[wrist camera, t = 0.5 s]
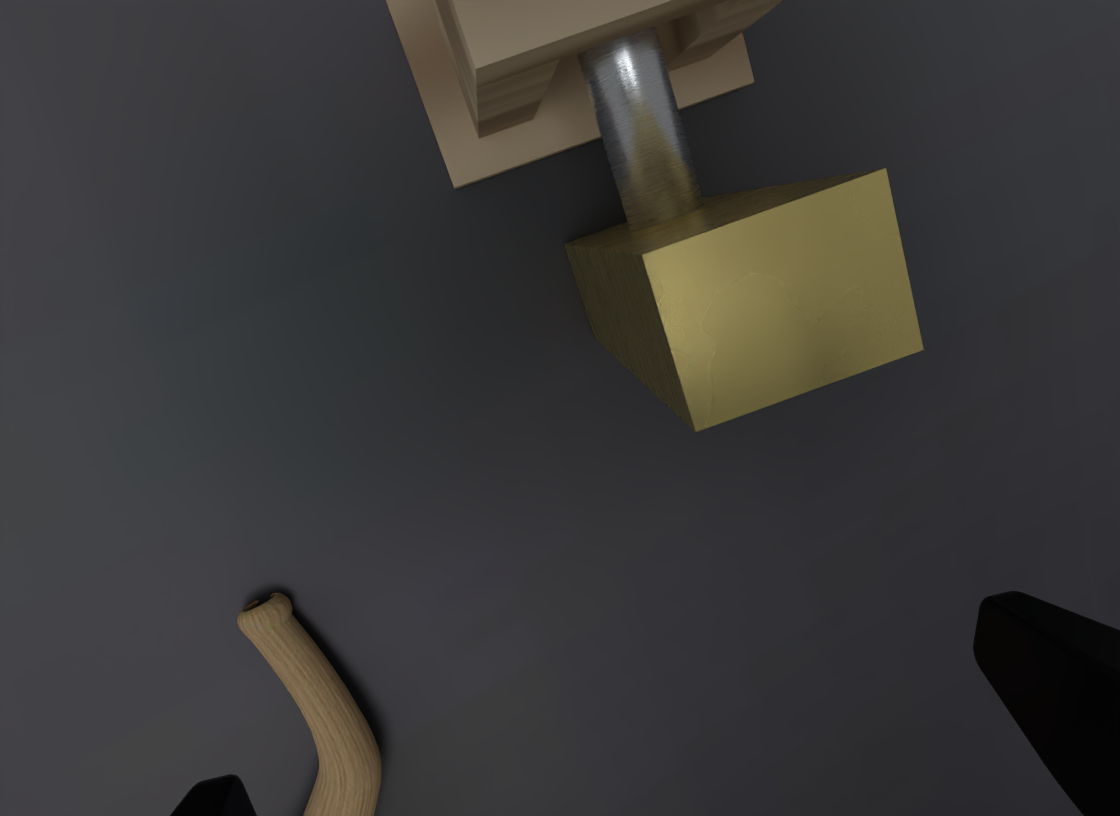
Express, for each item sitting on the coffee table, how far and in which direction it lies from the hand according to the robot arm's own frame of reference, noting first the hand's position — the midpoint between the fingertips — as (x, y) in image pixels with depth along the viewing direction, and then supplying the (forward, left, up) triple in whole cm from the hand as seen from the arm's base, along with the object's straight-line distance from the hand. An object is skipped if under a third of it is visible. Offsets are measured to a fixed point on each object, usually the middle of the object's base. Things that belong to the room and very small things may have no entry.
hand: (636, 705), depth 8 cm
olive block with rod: (+9, 0, -15) cm, 17 cm away
